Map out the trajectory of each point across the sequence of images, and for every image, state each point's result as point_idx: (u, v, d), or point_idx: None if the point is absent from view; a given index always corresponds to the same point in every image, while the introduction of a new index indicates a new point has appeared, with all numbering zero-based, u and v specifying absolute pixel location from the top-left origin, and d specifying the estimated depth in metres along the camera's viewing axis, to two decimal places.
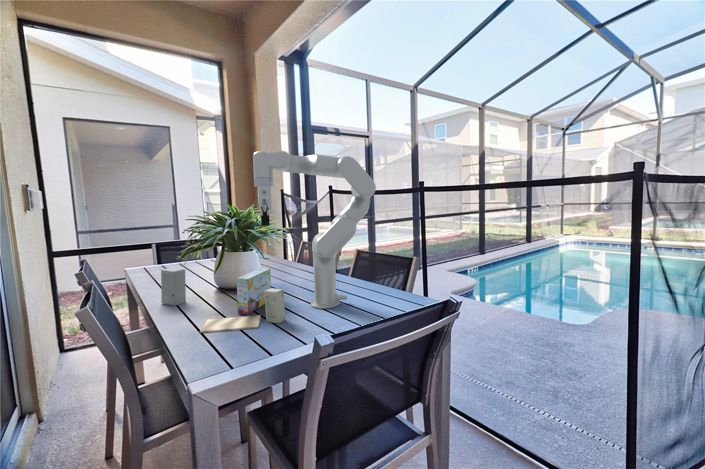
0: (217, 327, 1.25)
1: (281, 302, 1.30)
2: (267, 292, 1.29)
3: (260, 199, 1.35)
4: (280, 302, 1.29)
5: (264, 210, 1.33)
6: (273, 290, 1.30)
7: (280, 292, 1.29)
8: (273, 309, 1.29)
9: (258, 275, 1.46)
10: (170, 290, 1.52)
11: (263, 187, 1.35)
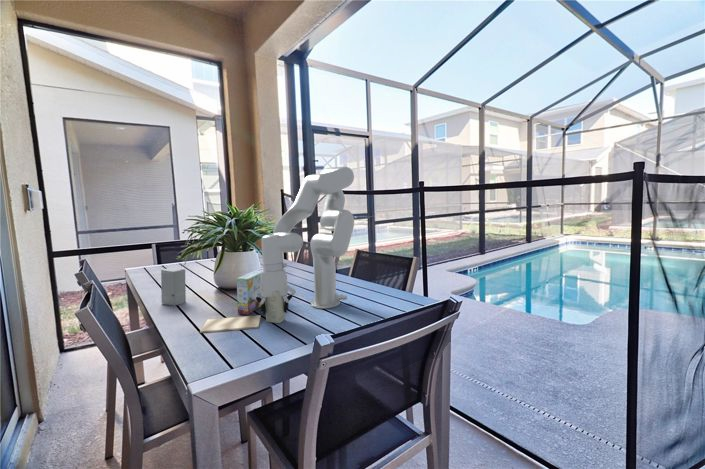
0: (217, 327, 1.25)
1: (281, 302, 1.30)
2: None
3: (286, 284, 1.30)
4: (280, 302, 1.29)
5: (292, 295, 1.32)
6: None
7: None
8: (273, 309, 1.29)
9: (258, 275, 1.46)
10: (170, 290, 1.52)
11: (285, 271, 1.30)
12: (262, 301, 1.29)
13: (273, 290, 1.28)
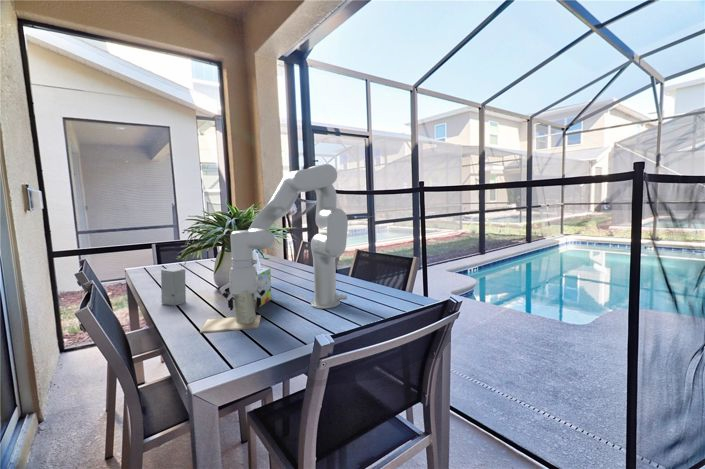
0: (217, 327, 1.25)
1: (250, 303, 1.28)
2: None
3: (256, 281, 1.27)
4: (250, 302, 1.27)
5: None
6: None
7: None
8: (242, 310, 1.27)
9: (258, 275, 1.46)
10: (170, 290, 1.52)
11: (255, 268, 1.28)
12: (229, 297, 1.26)
13: (242, 287, 1.26)
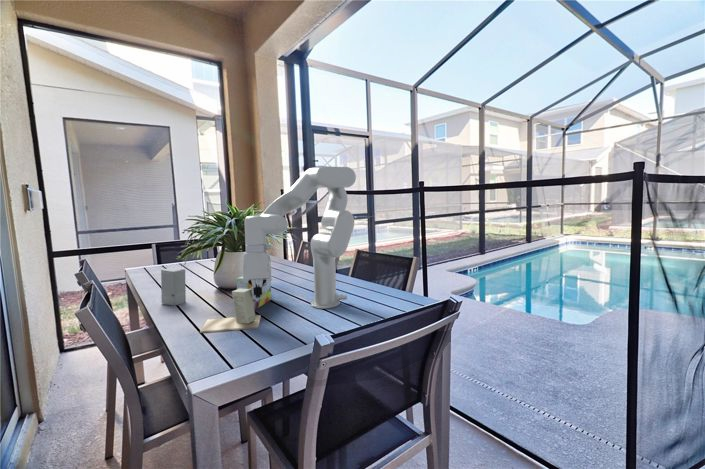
0: (217, 327, 1.25)
1: (249, 302, 1.28)
2: (235, 293, 1.27)
3: (270, 266, 1.28)
4: (248, 302, 1.27)
5: (266, 281, 1.29)
6: (241, 290, 1.27)
7: (248, 292, 1.27)
8: (242, 310, 1.27)
9: None
10: (170, 290, 1.52)
11: (268, 253, 1.28)
12: (254, 284, 1.27)
13: (256, 272, 1.26)
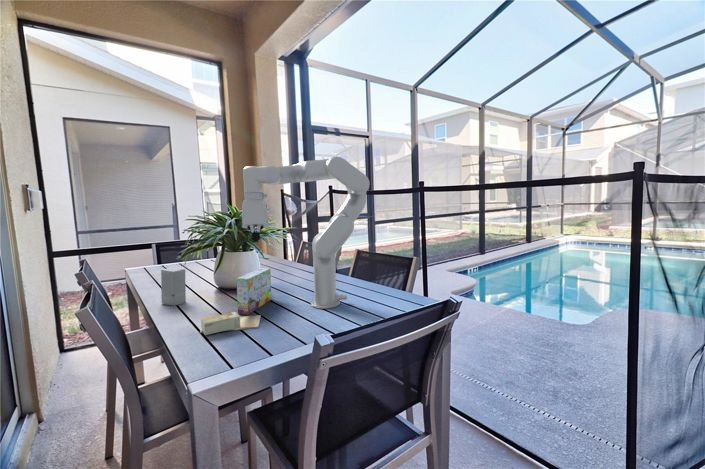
0: None
1: (218, 326, 1.20)
2: None
3: (266, 213, 1.40)
4: (217, 327, 1.20)
5: (263, 227, 1.42)
6: (203, 328, 1.20)
7: (206, 329, 1.18)
8: None
9: (258, 275, 1.46)
10: (170, 290, 1.52)
11: (265, 201, 1.41)
12: (253, 229, 1.40)
13: (254, 218, 1.38)
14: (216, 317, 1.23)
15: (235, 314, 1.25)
